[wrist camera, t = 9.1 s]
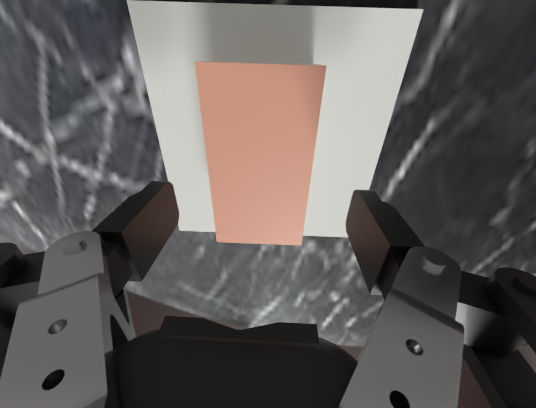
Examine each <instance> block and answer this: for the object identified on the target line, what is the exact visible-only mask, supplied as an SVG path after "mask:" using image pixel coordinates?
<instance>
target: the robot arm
mask: <svg viewBox="0 0 536 408" xmlns="http://www.w3.org/2000/svg"><path fill="white" fill-rule="evenodd" d="M178 221H179V209H178V205H177V200H176V196H175V191H174V187H173V185H172V183H171V182H163V181H152V182H150V183H149V184H148V185H147V186H146V187H145V188H144V189H143V190H142V191H140V192H138V193H136V194H134V195H132V196H130V197H128V198H127V199H126V200H125V201H124V202H123V203H122V204H121V206H119V207H117V208H116V209H115V211H114V212H112V213H111V214H110V215H109V216H108V217H106V218H105V219H104V220H103V221H102V222H101V223H100V224H99V225H98V226H97V227H95V228H94V229H93V230H92V231H83V232H77V233H73V234H70V235H68V236H65V237H63V238H61V239H59V240H57V241H56V242H54V243H53V244H52V245H50V246H49V247H48V249H47V250H46V251H44V252H38V253H32V254H26V255H23V254H22V253H21V251H20V250H19V249H18V247H17V246H16V245H15V244H13V243H0V408H457V403H458V394H459V384H460V374H461V364H462V356H463V357H464V359H465V361H466V363H467V364H468V366H469V368H470V370H471V371H472V373H473V375H474V377H475V379H476V380H477V382H478V384H479V386H480V387H481V389H482V391H483V393H484V395H485V396H486V398H487V400H488V402H489V404H490V405H491V407H492V408H536V373H535V372H534V370H533V369H532V368H531V367H530V365H529V364H528V363H527V361H526V360H525V359H524V358H523V356H522V355H521V353H520V352H519V351H518V348H520V347H521V346H522V345H523V344H524V343H526V342H527V343H528V344H529V346H530V347H531V348H532V349H533V351H534V352H535V353H536V276H534V275H532V274H529V273H527V272H524V271H521V270H518V269H514V268H499V269H497V270H496V271H495V272H494V273H493V275H492V276H491V277H490V278H487V277H483V276H479V275H475V274H471V273H468V272H464V271H461V269H460V267H459V266H458V264H457V263H456V262H455V261H454V260H453V259H451V258H450V257H449V256H447V255H446V254H444V253H442V252H440V251H438V250H435V249H432V248H428V247H425V246H424V245H423V243H422V242H421V241H420V239H419V238H418V237H417V236H416V234H415V233H414V232H413V230H412V229H411V228H410V227H409V225H407V223H406V221H405V220H404V219H403V218H402V216H401V215H400V214H399V212H398V211H397V210H396V209H395V208H394V207H392V206H391V205H389V204H388V203H386V202H382V201H381V199H380V198H379V197H378V195H377V194H376V192H375V191H374V190H354V192H353V194H352V198H351V202H350V206H349V210H348V214H347V218H346V232H347V235H348V238H349V240H350V243H351V245H352V248H353V251H354V253H355V256H356V258H357V261H358V264H359V266H360V269H361V272H362V274H363V277H364V279H365V282H366V285H367V287H368V290H369V292H370V294H375V295H383V297H384V300H385V301H384V303H383V305H382V307H381V309H380V312H379V314H378V316H377V318H376V320H375V323H374V325H373V327H372V329H371V331H370V334H369V336H368V338H367V340H366V342H365V345H364V347H363V349H362V351H361V353H360V356H359V358H358V360H357V361H356V360H355V359H354V358H353V357H352V356H351V355H349V354H348V353H347V352H346V351H344V350H343V349H341V348H340V347H338V346H337V345H335V344H333V343H331V342H329V341H327V340H325V339H322V338H319V337H318V331H317V324H300V323H282V322H278V323H273V324H268V325H263V326H258V327H254V328H249V329H244V330H236V329H233V328H230V327H227V326H224V325H221V324H218V323H215V322H212V321H210V320H207V319H204V318H193V317H175V316H166V317H165V319H164V321H163V323H162V325H161V328H160V329H157V330H153V331H150V332H147V333H145V334H142V335H140V336H137V337H136V335H135V331H134V327H133V322H132V317H131V313H130V307H129V302H128V297H127V292H126V289H125V287H124V286H125V284H126V283H127V282H128V281H141V282H142V280H143V278H144V277H145V275H146V274H147V272H148V270H149V269H150V267H151V266H152V264H153V262H154V261H155V259H156V258H157V256H158V254H159V253H160V251H161V250H162V248H163V246H164V245H165V243H166V242H167V240H168V238H169V237H170V235H171V234H172V232H173V230H174V229H175V227H176V226H177V224H178Z"/></svg>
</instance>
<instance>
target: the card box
mask: <svg viewBox="0 0 536 408" xmlns="http://www.w3.org/2000/svg"><path fill="white" fill-rule="evenodd" d="M195 70H196V78H197V86H198V94H199V102H200V110H201V118H202V126H203V134H204V142H205V150H206V158H207V166H208V174H209V182H210V190H211V198H212V206H213V214H214V222H215V230H216V238H217V242H228V243H253V244H279V245H302V238H303V230H304V223H305V216H306V209H307V202H308V195H309V187H310V180H311V173H312V166H313V159H314V152H315V145H316V137H317V130H318V123H319V116H320V109H321V102H322V94H323V87H324V80H325V73H326V66H325V65H319V64H307V63H274V62H241V61H198V62H195Z"/></svg>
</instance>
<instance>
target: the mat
mask: <svg viewBox="0 0 536 408" xmlns="http://www.w3.org/2000/svg"><path fill="white" fill-rule="evenodd" d="M127 4H128V8H129V13H130V17H131V21H132V26H133V30H134V34H135V39H136V43H137V47H138V52H139V56H140V60H141V65H142V69H143V73H144V78H145V82H146V86H147V91H148V95H149V99H150V104H151V108H152V112H153V117H154V121H155V126H156V130H157V134H158V139H159V143H160V147H161V152H162V156H163V160H164V165H165V169H166V173H167V178H168V182H171V183H172V185H173V187H174V191H175V196H176V200H177V205H178V209H179V221H178V225H179V230H180V231H202V232H216V230H215V222H214V214H213V206H212V198H211V190H210V182H209V174H208V166H207V158H206V150H205V142H204V134H203V126H202V118H201V110H200V102H199V94H198V86H197V78H196V70H195V62H198V61H241V62H274V63H307V64H319V65H325V66H326V73H325V80H324V87H323V94H322V102H321V109H320V116H319V123H318V130H317V137H316V145H315V152H314V159H313V166H312V173H311V180H310V187H309V195H308V202H307V209H306V216H305V223H304V230H303V236H328V237H348V235H347V232H346V218H347V214H348V210H349V206H350V202H351V198H352V194H353V192H354V190H369V188H370V185H371V182H372V178H373V175H374V172H375V168H376V165H377V162H378V158H379V155H380V152H381V148H382V145H383V142H384V139H385V135H386V132H387V129H388V125H389V122H390V119H391V115H392V112H393V109H394V105H395V102H396V99H397V95H398V92H399V89H400V86H401V82H402V79H403V76H404V72H405V69H406V66H407V62H408V59H409V56H410V52H411V49H412V46H413V42H414V39H415V36H416V33H417V29H418V26H419V23H420V19H421V16H422V13H423V9H398V8H365V7H332V6H299V5H266V4H233V3H200V2H167V1H134V0H127Z"/></svg>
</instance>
